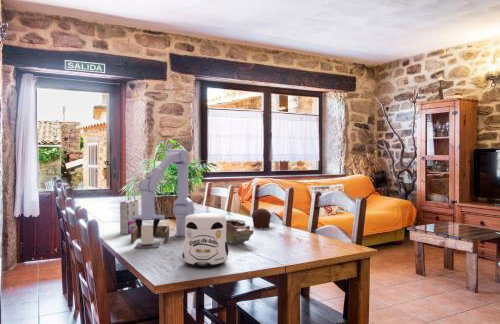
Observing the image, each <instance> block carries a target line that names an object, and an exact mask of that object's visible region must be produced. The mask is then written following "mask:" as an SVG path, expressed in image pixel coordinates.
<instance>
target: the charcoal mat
mask: <svg viewBox="0 0 500 324" xmlns="http://www.w3.org/2000/svg"><path fill="white" fill-rule="evenodd" d="M160 245H161V242H156V241H154V243H153V244H141V242H137V243H136V245H135V246H134V249H136V250H137V249H140V250H141V249H144V250H145V249H159V247H160Z"/></svg>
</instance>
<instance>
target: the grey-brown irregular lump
mask: <svg viewBox="0 0 500 324" xmlns="http://www.w3.org/2000/svg"><path fill="white" fill-rule="evenodd" d="M252 235H254V230H253V229H251V226H250V225H248V224H246V221H245V220H241V219H226V241H227V243H230V244H240V243H241V244H242V243H245V242H248V241H249V240H250V238H251V236H252Z"/></svg>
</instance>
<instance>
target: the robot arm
mask: <svg viewBox="0 0 500 324" xmlns="http://www.w3.org/2000/svg"><path fill="white" fill-rule="evenodd" d="M189 154H190V153H189V152H188V151H187V149H185V148H168V149H167V150H166V151H165V152H164V157H163V159H162V160H161V161H160V163H159V165H158V166H156V167H153V168H152V169H151V171H150V172H149V173H148V174H147V176H146V177H145V178H141V180H140V181H139V182H138V186H137V188H138V191H139V194H140V196H141V197H140V200H141V201H140V204H141V206H140V208H141V209H140V211H141V212H140V214H138V215H132V216H131V220H136V222H135V223H136V225H137V227H138V230H139V233H140V238H141V226H142V224H143V221H153V223H152V224H153V225H154V231H153V237H154V238H155V237H156V236H155V234H156V229H157V226H159V224H160V221H165V215H164V214H155V192H156V191H157V190H158V185H159V182H160V181H161V180H162V179H163V178H164V176H165V171H167V169H168V168H169V167H170V166H171V165H172V164H173V165H174V166H175V167H176V168H177V198H176V200H174V201H173V207H172V214H173V215H174V217H175V218H176V220H175V221H176V222H175V223H176V224H175V225H176V226H175V228H176V229H175V230H176V231H175V234H174V236H175V237H185V218H186V216H187V215H191V214H195V206H194V201H193V200H192V199H190V198H189V164H190V161H189V159H190V158H189V156H190V155H189Z"/></svg>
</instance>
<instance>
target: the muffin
mask: <svg viewBox="0 0 500 324" xmlns="http://www.w3.org/2000/svg"><path fill="white" fill-rule="evenodd" d="M251 218H252V224H253V228H257V229H268V228H270V224H271V218H272V214H271V212H270V211H269V210H268V209H265V208H256V209H255V210H254V211H253V212H252V214H251Z"/></svg>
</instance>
